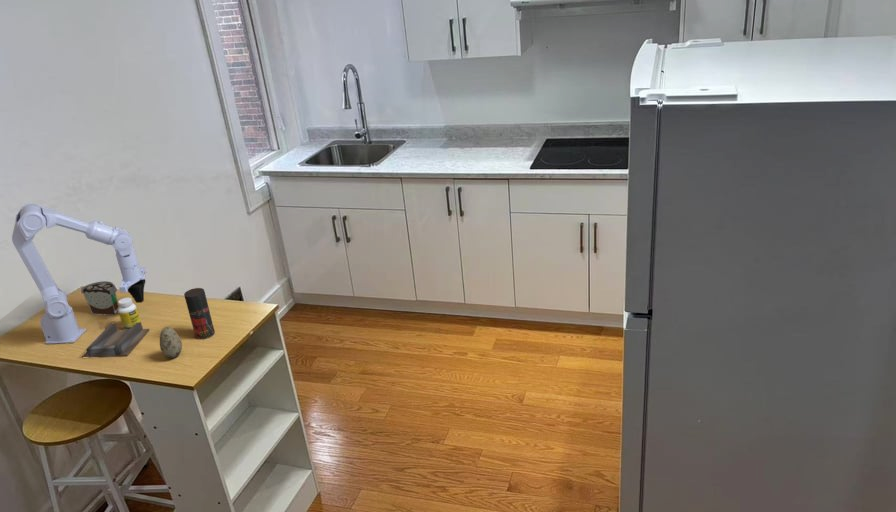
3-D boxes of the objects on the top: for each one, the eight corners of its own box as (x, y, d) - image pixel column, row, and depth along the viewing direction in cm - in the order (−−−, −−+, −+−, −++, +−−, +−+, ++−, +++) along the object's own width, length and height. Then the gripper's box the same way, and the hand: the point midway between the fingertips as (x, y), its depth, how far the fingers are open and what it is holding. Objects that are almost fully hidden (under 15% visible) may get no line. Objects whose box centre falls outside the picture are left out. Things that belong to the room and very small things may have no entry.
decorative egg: (176, 348, 202) (168, 320, 198) (188, 353, 199) (180, 325, 194) (159, 358, 197) (150, 329, 193) (171, 363, 194) (163, 334, 190)
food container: (131, 306, 230) (123, 281, 225) (119, 315, 224) (110, 289, 220) (100, 305, 232) (92, 279, 228) (88, 313, 227) (79, 288, 223)
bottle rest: (82, 358, 201) (79, 349, 199) (107, 332, 214) (104, 323, 213) (127, 356, 200) (124, 347, 198) (149, 330, 213) (146, 322, 212)
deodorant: (191, 335, 208) (180, 293, 202) (209, 327, 212) (198, 286, 206) (201, 341, 205) (189, 298, 198) (218, 333, 209) (207, 291, 202)
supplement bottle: (135, 331, 214) (126, 304, 209) (120, 330, 215) (111, 304, 211) (145, 322, 218) (137, 296, 214) (130, 321, 219) (122, 296, 215)
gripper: (130, 274, 209) (141, 311, 215) (150, 255, 222) (160, 290, 228) (108, 275, 210) (120, 312, 215) (130, 256, 223) (141, 291, 228)
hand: (140, 301), depth 222 cm, fingers closed
